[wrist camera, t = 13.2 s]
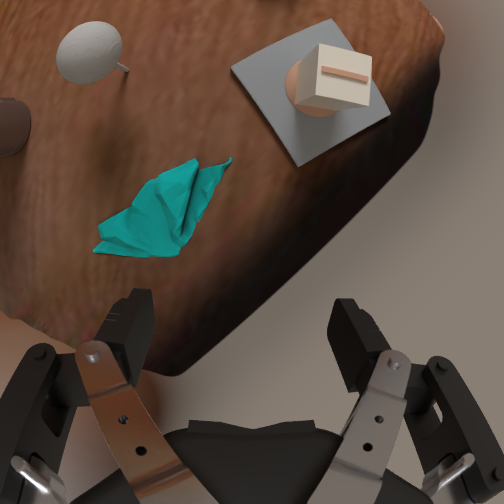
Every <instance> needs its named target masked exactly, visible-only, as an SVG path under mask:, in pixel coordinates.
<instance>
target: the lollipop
mask: <svg viewBox="0 0 504 504" xmlns="http://www.w3.org/2000/svg"><path fill="white" fill-rule="evenodd" d="M121 52H122V40H121V37H120V35H119V33H118V31H117V30H116V29H115V28H114V27H113V26H111V25H110V24H108V23H105V22H98V21H94V22H87V23H84V24H81V25H79V26H77V27H76V28H74V29H73V30H72V31H70V32H69V33H68V34H67V35H66V36H65V38H64V39H63V40H62V42H61V44H60V46H59V48H58V51H57V56H56V63H57V68H58V70H59V72H60V74H61V75H62V76H63V77H64V78H65V79H66V80H68V81H69V82H71V83H75V84H90V83H94V82H96V81H98V80H100V79H102V78H104V77H105V76H107V75H108V74H109V73H110V72H111V71H112V70H113V69H114V67H116V68H118V69H120V70H122V71H125V72H128V71H129V68H127V67H125V66H123V65H121V64H119V63H118V61H119V59H120V56H121Z"/></svg>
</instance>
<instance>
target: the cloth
mask: <svg viewBox="0 0 504 504" xmlns="http://www.w3.org/2000/svg"><path fill="white" fill-rule="evenodd" d="M231 161H232V157H230V159H229V161H228V162H227V163H226V164H222V165H217V166H211V167H207V168H204V169H202V170H199V171H198V168H199V164H198V162H197V160H196V158H195V159H193V160H191V161H188V162H187V163H185V164H183V165H180V166H178V167H176V168H173V169H171V170H169V171H166V172H164V173H162V174H160V175H159V176H158V177H157V179H152V180H149V181H148V182H147V183H146V184H145V185H144V186H143V188H142V189H141V190H140V192H139V193H138V195H137V196H136V198H135V199H134V201H133V202H132V206H131V207H129V208H127V209H125V210H123V211H122V212H120V213H118V214H117V215H115V216H113V217H111V218H109V219H107V220H106V221H104V222H103V223H101V224H99V225H98V229H99V233H100V237H101V239H103V240H105V241H103V242H101V243H100V244H99V245H98V246H97V247H96V248H95V249H93V252H96V253H105V254H115V255H123V256H136V257H142V258H149V257H150V256H157V257H173V256H177V255H179V253H180V248H181V247H182V246H184V245H186V243H187V242H188V240H189V239H190V237H191V236H192V235H193V234H192V233H193V231H194V229H195V227H196V223H195V222H199V221H200V219H201V217H202V215H203V212H204V211H205V209H206V208H207V206H208V203H209V201H210V199H211V197H212V195H213V191H214V188H215V185H217V184H219V182H220V180H221V178H222V175H223V172H224V169H225V168H226V167H227V166H228V165H229V164H230V163H231Z"/></svg>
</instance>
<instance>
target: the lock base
mask: <svg viewBox="0 0 504 504" xmlns="http://www.w3.org/2000/svg"><path fill="white" fill-rule="evenodd" d="M319 43H320V44H325V45H329V46H334V47H338V48H342V49H346V50H350V51H354V49H353V48H352V46H351V45H350V43H349V42H348V40H347V39H346V38H345V36H344V35H343V33H342V32H341V31H340V29H339V28H338V26H337V25H336V24H335V22H334V21H333V20H332V19H329V20H326V21H324V22H321V23H318V24H316V25H314V26H311V27H309V28H306V29H304V30H302V31H299V32H297V33H295V34H293V35H291V36H288V37H286V38H284V39H282V40H280V41H278V42H276V43H274V44H272V45H270V46H268V47H266V48H264V49H262V50H260V51H258V52H256V53H255V54H253V55H251V56H249V57H247V58H245V59H244V60H242V61H240V62H238V63H237V64H235V65H233V66H232V67H231V70H232V71H233V73H234V74H235V75H236V77H237V78H238V79H239V81H240V82H241V83H242V85H243V86H244V88H245V89H246V90H247V92H248V93H249V94H250V96H251V97H252V99H253V100H254V102H255V103H256V104H257V106H258V107H259V109H260V110H261V112H262V113H263V115H264V116H265V117H266V119H267V120H268V122H269V123H270V125H271V126H272V128H273V129H274V131H275V132H276V134H277V135H278V137H279V139H280V140H281V142H282V143H283V145H284V146H285V148H286V149H287V151H288V153H289V154H290V156H291V157H292V159H293V161H294V162H295V164H296V165H297V167H300V166H302V165H303V164H305V163H306V162H308V161H310V160H311V159H313V158H315V157H316V156H318V155H320V154H321V153H323V152H325V151H327V150H328V149H330V148H332V147H333V146H335V145H337V144H338V143H340V142H342V141H344V140H345V139H347V138H349V137H351V136H352V135H354V134H356V133H358V132H359V131H361V130H363V129H365V128H366V127H368V126H370V125H372V124H374V123H375V122H377V121H379V120H381V119H383V118H384V117H386V116H388V115H390V114H391V113H390V111H389V109H388V107H387V105H386V103H385V101H384V100H383V98H382V96H381V94H380V92H379V90H378V89H377V87H376V85H375V83H374V82H373V80H372V78H371V85H370V99H369V106H367V107H359V108H352V109H345V110H339V111H334V110H329V109H323V108H318V107H312V106H305V105H298V104H295V96H296V85H297V72H298V64H299V63H300V62H301V61H302V60H303V59H304V58H305V57H306V56H307V55H308V54H309V53H310V52H311V51H312V50H313V49H314V48H315V47H316V46H317V45H318V44H319ZM354 52H355V51H354Z"/></svg>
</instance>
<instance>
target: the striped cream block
mask: <svg viewBox="0 0 504 504" xmlns="http://www.w3.org/2000/svg"><path fill="white" fill-rule="evenodd" d="M371 66H372V57H371V56H368V55H364V54H361V53H357V52H354V51H350V50H346V49H342V48H338V47H334V46H329V45H325V44H320V43H319V44H318V45H317V46H316V47H315V48H314V49H313V50H312V51H311V52H310V53H309V54H308V55H307V56H306V57H305V58H304V59H303V60H302V61H301V62H300V63H299V64H298V72H297V85H296V96H295V104H298V105H305V106H312V107H318V108H323V109H329V110H334V111H339V110H345V109H352V108H359V107H367V106H369V99H370V85H371Z"/></svg>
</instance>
